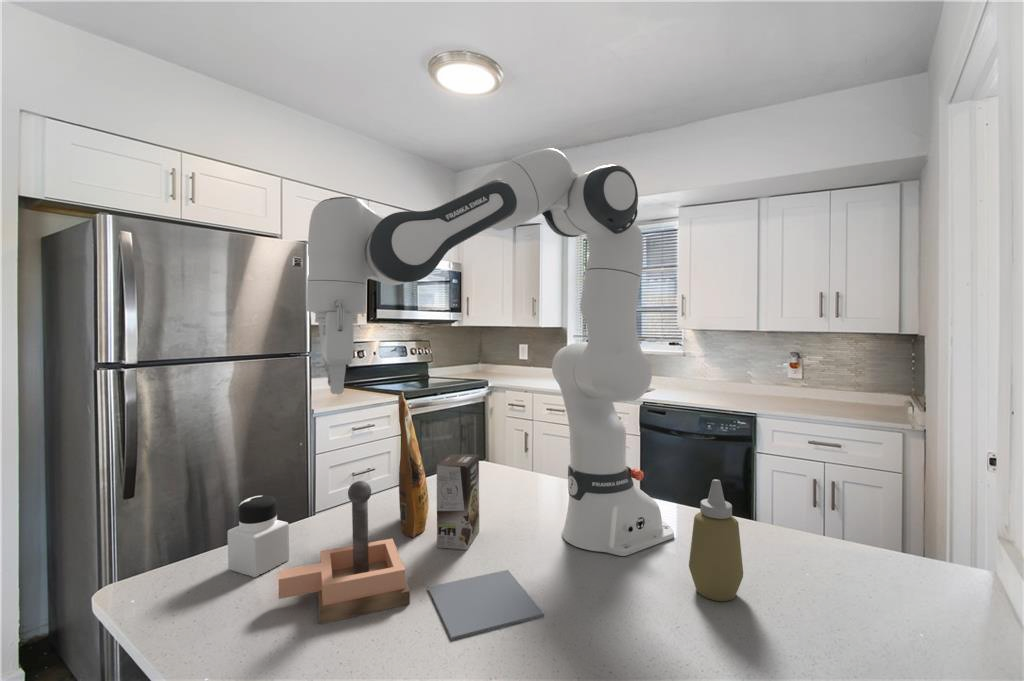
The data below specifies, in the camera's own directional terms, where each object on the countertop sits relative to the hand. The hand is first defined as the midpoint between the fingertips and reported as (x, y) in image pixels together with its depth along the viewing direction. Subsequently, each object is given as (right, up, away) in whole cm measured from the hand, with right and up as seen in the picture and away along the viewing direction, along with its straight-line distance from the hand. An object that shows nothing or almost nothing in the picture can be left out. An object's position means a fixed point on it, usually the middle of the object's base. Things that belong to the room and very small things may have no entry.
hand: (335, 389), depth 78 cm
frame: (+1, -31, +1) cm, 31 cm away
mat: (+23, -33, -2) cm, 40 cm away
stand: (+4, -33, +2) cm, 33 cm away
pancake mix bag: (+6, -32, +29) cm, 44 cm away
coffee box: (+17, -32, +21) cm, 42 cm away
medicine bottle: (-17, -33, +11) cm, 39 cm away
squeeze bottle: (+60, -33, +1) cm, 69 cm away
